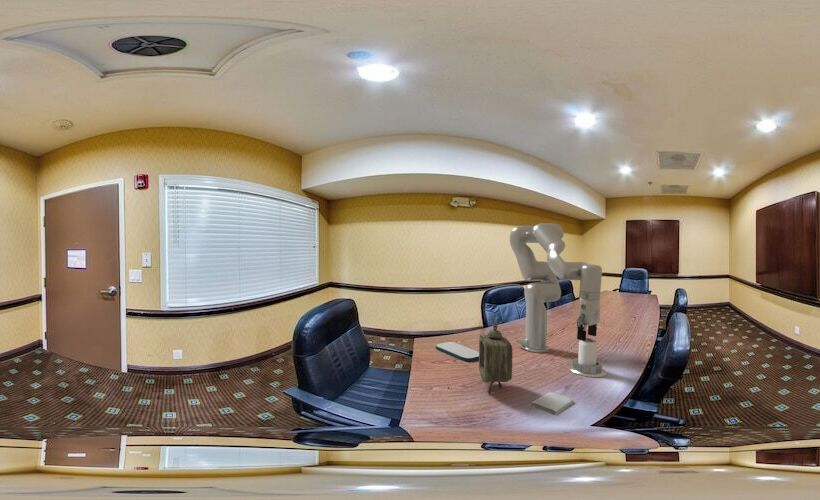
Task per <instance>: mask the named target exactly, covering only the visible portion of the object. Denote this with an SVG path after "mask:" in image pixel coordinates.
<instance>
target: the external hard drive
mask: <svg viewBox="0 0 820 500" xmlns="http://www.w3.org/2000/svg"><path fill="white" fill-rule="evenodd" d="M435 349H436V350H437V351H439V352H441V353H444V354H446V355H448V356H451V357H453V358H456V359H458V360H461V361H463V362H466V363H467V362H468V363H470V362H475V361H479V350H475V349H473V348H471V347H467V346H464V345H462V344H460V343H457V342H454V341H447V342H441V343H436V344H435Z"/></svg>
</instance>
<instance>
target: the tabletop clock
mask: <svg viewBox="0 0 820 500" xmlns="http://www.w3.org/2000/svg"><path fill="white" fill-rule="evenodd" d="M498 325H499V324H498V319H497V317H496V316H493V317H492V328H493V329H490V330H489V331H488V332H487V334H480V335H479V341H478V342H479V343H478V344H479V345H478V352H479V360H478V370H479V373H480V376H481V381H482V382H484V383H486V382H488V383H490V384H489V388H487V390H486V393H487V394H492V391H493V390H492V387H493V385H494V383H497V387H498V388H499V389H500V388H502V387H503V383H508V382H509V381H510V380H512V376H513V346H512V344H511V342H510V340H509V339H508V338H506V337H505V336H503V334H502V332H501V331H500V330H498Z"/></svg>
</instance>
